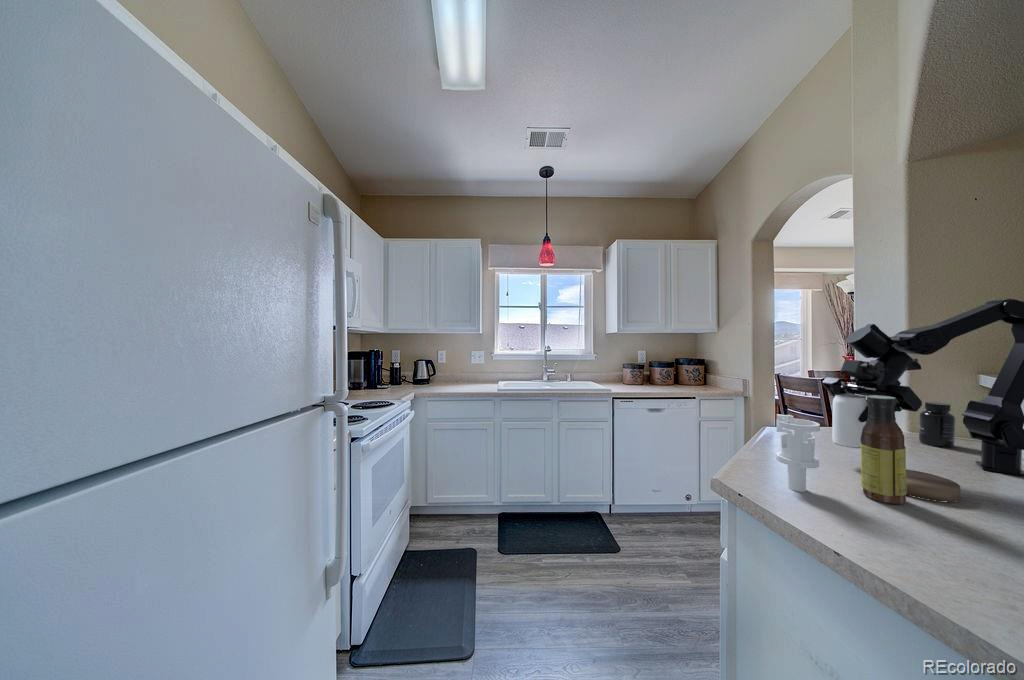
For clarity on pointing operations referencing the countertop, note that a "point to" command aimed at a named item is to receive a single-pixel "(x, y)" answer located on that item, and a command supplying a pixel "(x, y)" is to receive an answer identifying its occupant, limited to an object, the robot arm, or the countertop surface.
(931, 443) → the supplement bottle
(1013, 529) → the countertop surface
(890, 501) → the sauce bottle
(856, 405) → the can
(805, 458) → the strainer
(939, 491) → the walnut stand
